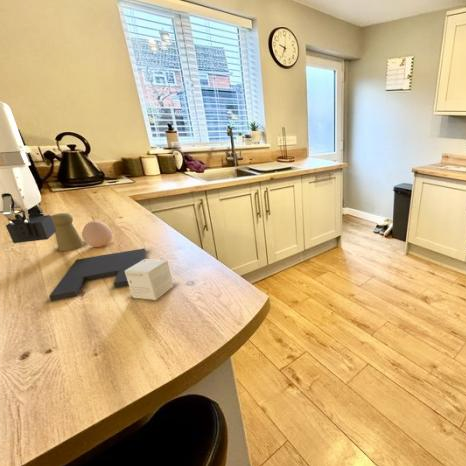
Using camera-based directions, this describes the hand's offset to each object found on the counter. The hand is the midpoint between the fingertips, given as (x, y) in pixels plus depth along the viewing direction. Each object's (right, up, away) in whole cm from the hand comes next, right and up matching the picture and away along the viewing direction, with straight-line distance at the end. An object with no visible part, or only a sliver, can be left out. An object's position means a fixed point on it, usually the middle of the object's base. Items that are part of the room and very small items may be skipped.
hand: (34, 233), depth 71 cm
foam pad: (0, -1, 0) cm, 1 cm away
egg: (-1, -4, +21) cm, 21 cm away
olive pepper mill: (-10, -5, +20) cm, 23 cm away
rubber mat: (+13, -11, +5) cm, 18 cm away
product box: (+32, -14, -3) cm, 35 cm away
